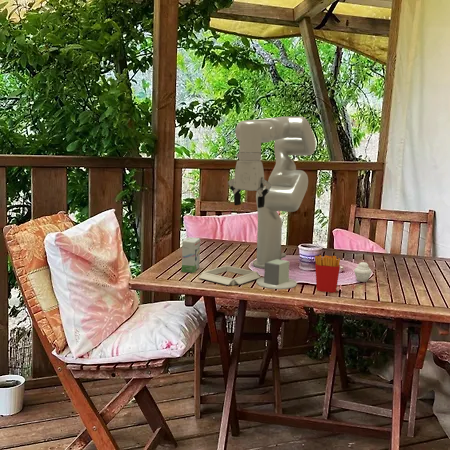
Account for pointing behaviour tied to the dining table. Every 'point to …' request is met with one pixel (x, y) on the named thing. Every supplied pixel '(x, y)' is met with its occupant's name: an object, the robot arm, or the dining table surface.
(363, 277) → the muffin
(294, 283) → the cream round plate
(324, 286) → the french fries
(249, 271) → the beige square frame
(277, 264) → the block
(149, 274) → the dining table surface
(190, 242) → the ink box
